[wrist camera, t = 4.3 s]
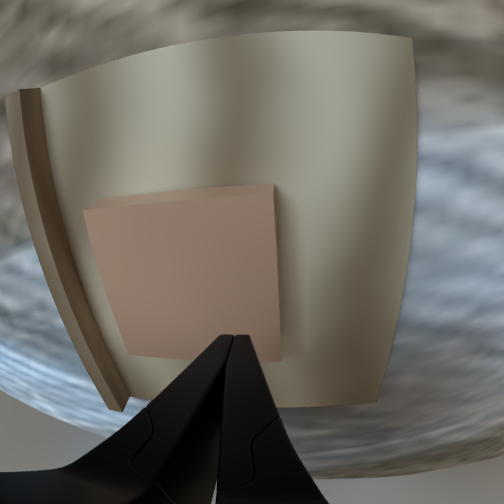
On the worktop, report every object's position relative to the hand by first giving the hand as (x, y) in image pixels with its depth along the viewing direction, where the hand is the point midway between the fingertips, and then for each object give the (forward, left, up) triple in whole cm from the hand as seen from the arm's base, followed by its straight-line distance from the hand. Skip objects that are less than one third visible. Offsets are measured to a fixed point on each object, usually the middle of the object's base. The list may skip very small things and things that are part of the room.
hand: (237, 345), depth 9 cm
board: (+1, 0, -6) cm, 6 cm away
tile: (-1, 0, -4) cm, 4 cm away
